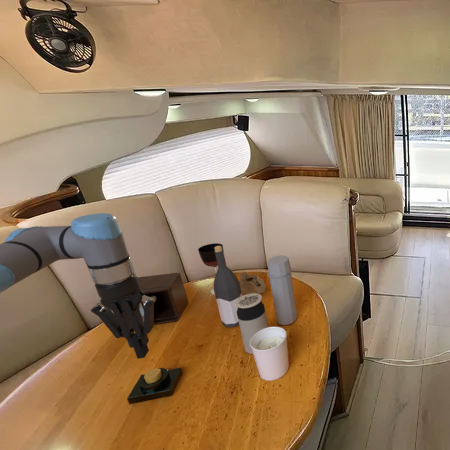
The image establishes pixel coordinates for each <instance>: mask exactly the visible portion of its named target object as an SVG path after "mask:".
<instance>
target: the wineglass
mask: <svg viewBox="0 0 450 450" xmlns="http://www.w3.org/2000/svg"><path fill="white" fill-rule="evenodd" d="M216 246H221V247H222V250H223V251H224V245H223V244H222V243H216V242H215V243H209V244H205V245H201V246H200V247H199V248H198V249H197V251H198V254H199V257H200V259H201V261H202V263H203V265H205V266H207V267H211V268H214V272H215V274H216V273H217V271H218V264H217V260H216V256H215V253H214V252H215V249H214V248H215V247H216ZM223 253H224V254H225V252H223ZM210 294H211V295H214V296H215V292H214V287H213V288H211V290H210Z"/></svg>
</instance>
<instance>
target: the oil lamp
mask: <svg viewBox="0 0 450 450" xmlns="http://www.w3.org/2000/svg"><path fill="white" fill-rule="evenodd" d="M239 276H240V277H239V282H240V287H241V292H242V295H246V294H251V293H257V294H260V295H262V294H264V293H265V291H266V289H267V288H266V284H265V280H264V279H263V278H261V277H260V276H258V275H257V274H248V273H247V272H246V271H242V272H241V273H240V275H239Z"/></svg>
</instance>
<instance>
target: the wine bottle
mask: <svg viewBox="0 0 450 450" xmlns="http://www.w3.org/2000/svg"><path fill="white" fill-rule="evenodd" d="M214 249H215V252H214V253H215V256H216V260H217V264H218V266H217V273H215V276H214V279H213V288H214V292H215V295H214V297H215V300H216V303H217V308H218V312H219V316H220V320H221V323H222V325H223V326H224V327H226V328H236V327H238V326H239V321H238V317H237V309H238V307H237V306H236V301H237V300H238V299H239V298H240V297H242V296H243V294H242V292H241V287H240V282H239V281H240V279H239V278H238V276H237V275H236V274H235V272H233V271H232V270H231V269H230V268H229V267H228V266H227V263H226V257H225V252H224V249H223V250H222V247H221V246H216V247H215V248H214ZM223 252H224V253H223Z"/></svg>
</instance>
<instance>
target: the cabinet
mask: <svg viewBox="0 0 450 450" xmlns="http://www.w3.org/2000/svg"><path fill="white" fill-rule="evenodd" d="M137 279H138V282H139V285H140V290H141V291H142V292H143V293H144V295H145V296H148V297H152V296H156V297H157V299H156V301H155V303H154V326H157V325H163V324H170V323H176V322H179V321H180V318H181V317H182V315H183V314H184V312H185V310H186V309H187V306H188V305H189V303H190V302H189V299H188V295H187V293H186V287H185V286H184V283H183V282H184V281H183V278H182V275H181V272H169V273H163V274H153V275H146V276H137Z"/></svg>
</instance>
